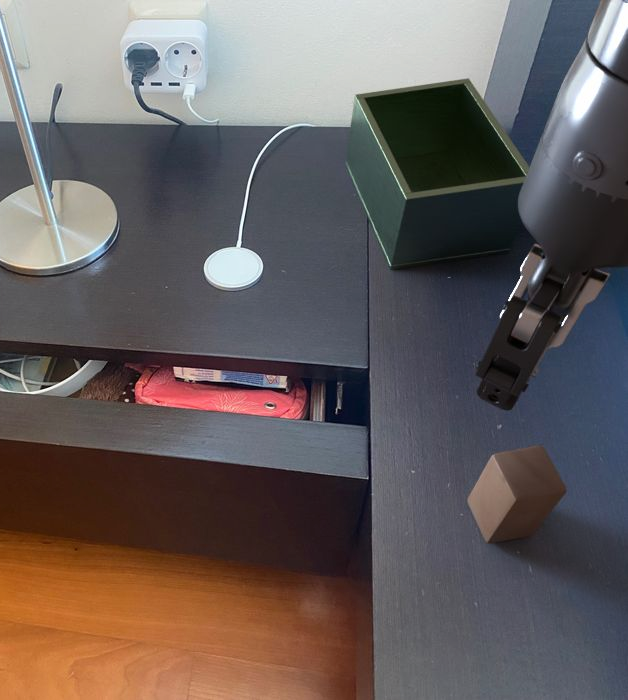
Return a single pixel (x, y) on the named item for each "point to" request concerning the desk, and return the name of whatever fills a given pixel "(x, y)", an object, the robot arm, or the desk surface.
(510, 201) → the waste bin
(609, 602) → the desk surface
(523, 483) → the wooden block
